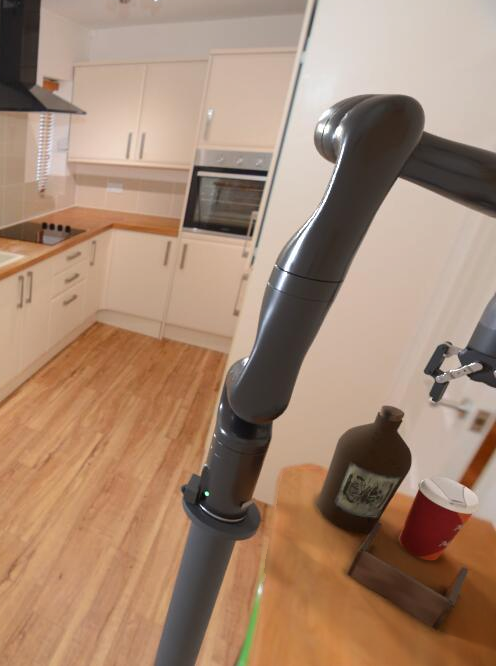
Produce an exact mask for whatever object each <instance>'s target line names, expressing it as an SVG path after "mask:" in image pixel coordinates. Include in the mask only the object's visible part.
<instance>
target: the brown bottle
mask: <svg viewBox="0 0 496 666" xmlns="http://www.w3.org/2000/svg"><path fill="white" fill-rule="evenodd" d="M404 417H405V412H404V411H403V410H401V408H398V407H396V406H392V405H382V406H381V407H380V409H379V411H378V412H377V414H376V417H375V419H374V422H371V423H366V424H361V425H357V426H353V427H351V428H349V429H347V430H346V431H345V432H344V433H342V434H341V436H340V437H339V438H338V440H337V443H336V446H335V448H334V451H333V455H332V458H331V462H330V464H329V467H328V470H327V472H326V476H325V479H324V481H323V485H322V487H321V490H320V493H319V495H318V498H317V502H316V503H317V507H318V510H319V511H320V512H321V514H322V515H323V516H324V517H325V518H326V519H327V520H329V521H330V522H332V523H333V524H334V525H336V526H338V527H340V528H342V529H345V530H347V531H350V532H354V533H370V532H371V531H372V529H373V528H374V526H375V525H376V523H377V522H380V520H381V518H382V516H383V514H384V512H385V511H386V509H387V507H388V505H389V504H390V503H391V501H392V499H393V497H394V496H395V494H396V493H397V491H398V489H399V488H400V486H401V485H402V483H403V482H404V480H405V478H406V477H407V475H408V474H409V472H410V470H411V469H412V468H411V467H412V463H413V457H412V456H413V455H412V452H411V449H410V447H409V446H408V444H407V443H406V441H405V440H404V438H403V437H402V436H401V434H400V433H399V429H400V427H401V425H402V423H403V419H404Z"/></svg>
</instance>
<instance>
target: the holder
mask: <svg viewBox="0 0 496 666" xmlns="http://www.w3.org/2000/svg"><path fill="white" fill-rule="evenodd" d="M382 525H383V523H381V522H380V521H378V522H377V523H376V525H375V526H374V528H373V529H372V531H370V532H369V534H368V535H367V537H366V538H365V540H364V541H363V542H362V544H361V546H360V547H359V549H358V551H357V552H356V554H355V556H354V558H353V560H352V562H351V564H350V566H349V568H348V570H347V572H346V575H348V576H350V577H351V578H352V579H354V580H355V581H358V582H359V583H361V584H363V585H364V586H366V587H367V588H369V589H371V590H372V591H374V592H375V593H377V594H379V595H380V596H382V597H383V598H385V599H386V600H388V601H390V602H392V604H395V605H396V606H398V607H399V608H401V609H402V610H404V611H406V612H407V613H410V614H411V615H412V616H414V617H415V618H417V619H419V620H420V621H422V622H423V623H425V624H427V625H428V626H430V627H432V628H433V629H434V630H436V631H438V630H439V629H440V627H441V626H442V625H443V623H444V621H445V620H446V619H447V617H448V615H450V613H451V611H452V610H453V608H454V607H455V605H456V602H457V600H458V598H459V595H460V592H461V590H462V588H463V585H464V582H465V579H466V578H467V574H468V573H469V569H468V568H466V567H464V566H462V567H461V568H460V570H459V571H458V573H457V574H456V576H455V577H454V578H453V580H452V582H450V585H449V586H448V587H447V589H446V592H445V593H444V595H442V594H440V593H439V592H437V591H436V590H434V589H432V588H430V587H428V586H427V585H425V584H423V583H421V582H420V581H418V580H416V579H415V578H413V577H411V576H410V575H408V574H406V573H404V572H402V571H401V570H400V569H398V568H396V567H394V566H392V565H391V564H388V563H387V562H386V561H383V560H382V559H380V558H378V557H377V556H375V555H373V554H371V553H370V552H369V550H370V549H371V546H373V543H374V541H375V539H376V537H377V535H378V533H379V532H380V529H381V527H382Z"/></svg>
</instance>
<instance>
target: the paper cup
mask: <svg viewBox="0 0 496 666" xmlns="http://www.w3.org/2000/svg"><path fill="white" fill-rule="evenodd" d="M417 486H418V490H417V492H416V494H415V497H414V499H413V502H412V504H411V506H410V508H409V511H408V513H407V516H406V518H405V520H404V523H403V525H402V528H401V530H400V533H399V536H398V542H399V544H400V546H401V547H402V548H403V549H404V550H405V551H407V552H408V553H410V554H411V555H413V556H414V557H416V558H419V559H422V560H424V561H425V560H426V561H435V560H437V559H439V557H440V556H441V555H442V554H443V553H444V552H445V550H446V549H448V546H449V545H450V544H451V542H453V540H454V539H455V538H456V536H457V535H458V533H459V532H460V531H461V530H462V529H463V527H464V526H465V524H466V523H467V521H468V520H470V518H471V517H472V515H473V514H476V513H478V512H479V511H480V504H479V502H480V501H479V498H478V496H477V495H476V493H474V491H473V490H471V489H470V488H468V487H467V486H465V485H463V484H462V483H459V482H457V481H456V480H453V479H450V478H446V477H442V476H437V475H435V476H434V475H432V476H426V477H425V478H424V479H422V480H420V481H419V482H418V484H417Z"/></svg>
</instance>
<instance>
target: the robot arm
mask: <svg viewBox="0 0 496 666" xmlns="http://www.w3.org/2000/svg"><path fill="white" fill-rule="evenodd" d="M425 125H426V114H425V110H424V108H423V106H422V104H421V103H420V101H419V100H417V98H415V97H414V96H410V95H407V94H401V93H364V94H358V95H357V94H356V95H352V96H349V97H346V98H344V99H342V100H339V101H337V102H336V103H334V104H333V105H331V106H330V107H329V108H327V110H325V111H324V113H322V115H321V116H320V118H319V119H318V121H317V123H316V125H315V128H314V131H313V144H314V147H315V149H316V151H317V152H318V154H319V156H321V157H322V158H323V159H324V160H326V161H327V162H329V163H331V164H333V165H334V167H333V171H332V173H331V175H330V178H329V181H328V183H327V187H326V189H325V190H324V194H323V195H322V198H321V200H320V202H319V203H318V205H317V207H316V208H315V210H314V211H313V213H312V214H311V215H310V217H308V219H307V220H306V221H305V222H304V223H303V224H302V225H301V226H300V227H299V228H298V229H297V231H295V232H294V234H293V235H292V236H291V237H290V238H289V239H288V241H286V243H285V244H284V245H283V247H282V248H281V250H280V252H279V253H278V256H277V258H276V260H275V263H274V264H273V267H272V270H271V271H270V272H271V273H270V275H269V277H268V280H267V282H266V286H265V289H264V292H263V296H262V300H261V305H260V309H259V310H260V311H259V315H258V322H257V328H256V335H255V339H254V343H253V346H252V349H251V351H250V354H249V355H248V356H245V357H242V358H239V359H238V360H236V361H235V362H234V363H233V364H232V365H231V366H230V367H229V369H227V373H226V375H225V378H224V380H223V381H224V382H223V386H222V389H221V393H220V394H221V395H220V398H219V402H218V407H217V410H216V411H217V412H216V419H215V425H214V429H213V433H212V438H211V441H210V445H209V448H208V452H207V456H206V460H205V462H204V464H203V466H202V469H201V473H200V475H199V474H196V473H194V472H192V474H191V476H190V478H189V480H188V482H187V483H184V484H182V485H181V486H180V492H181V493H182V497H183V500H185V501H187V502H189V503H192V504H195V505H197V506H199V507H200V509H201V510H202V511H203V512H204V513H205V514H207V515H208V516H210V517H211V518H213V519H215V520H217V521H220V522H223V523H228V524H236V523H240V522H242V521H243V520H245V518H246V516H247V513H248V509H249V505H250V504H252V503H255V501H256V500H255V499H256V497H254V493H255V490H256V487H257V484H258V482H259V478H260V475H261V472H262V469H263V466H264V464H265V460H266V457H267V454H268V451H269V449H270V445H271V443H272V439H273V429H274V428H273V427H274V421H276V420H277V419H279V418H280V417H281V416H282V415H283V414H284V413H285V412H286V411H287V409H288V407H289V405H290V402H291V399H292V396H293V393H294V390H295V386H296V383H297V380H298V378H299V374H300V371H301V368H302V366H303V363H304V360H305V358H306V356H307V354H308V353H309V351H310V348H311V347H312V345H313V344H314V341H315V340H316V337H317V336H318V334H319V332H320V330H321V328H322V326H323V324H324V322H325V319H326V318H327V316H328V313H329V312H330V311H331V308H332V306H333V305H334V303H335V301H336V299H337V297H338V295H339V293H340V290H341V289H342V286H343V284H344V282H345V280H346V278H347V276H348V273H349V271H350V268H351V266H352V264H353V261H354V259H355V258H356V255H357V253H358V252H359V250H360V248H361V246H362V244H363V242H364V240H365V237H366V236H367V234H368V232H369V230H370V227H371V225H372V224H373V221H374V220H375V218H376V215H377V213H378V211H379V210H380V208H381V206H382V205H383V203H384V201H385V200H386V198H387V196H388V195H389V194H390V192H391V190H392V188H393V187H394V185H395V183H396V182H397V180H398V179H402V180H404V181H407V182H409V183H412V184H414V185H416V186H419V188H420V187H421V188H423V189H425V190H427V191H430V192H432V193H434V194H436V195H439V196H441V197H443V198H445V199H447V200H449V201H452V202H454V203H456V204H457V205H460V206H463V207H465V208H468V209H469V210H473V211H474V212H477V213H480V214H482V215H485V216H487V217H489V218H492V219H496V152H495V151H491V150H488V149H485V148H482V147H478V146H474V145H470V144H467V143H463V142H460V141H456V140H452V139H450V138H449V139H448V138H445V137H443V136H439V135H437V134H433V133H430V132H428V131H426V130H424V129H425ZM453 356H457V360H458V361H459V363H460V365H459V366H458V367H455V368H453V369H450V370H447V371H444V370H441V369H440V368H441V367H442V365H443V364H444V361H445V360H446V359H449V358H451V357H453ZM423 373H424V374H425V375H426V376H430V377H431V378H433V380H434V383H433V384H432V387H431V389H430V390H429V393H428V394H429V395H428V396H429V398H431V402H434V403H438V402H441V400H442V399H443V397H444V395H445V393H446V391H447V389H448V387H449V385H450V382H451V380H456V379H457V378H458V379H459V378H461V377H464V376H466V377H467V378H469V380H470V381H473V382H477V383H482V384H484V385H486V386H488V387H490V388H493V389H496V291H494V294H493V296H492V297H491V298H490V300H488V302H487V303H486V306H485V308H484V309H483V311H482V314H481V316H480V317H479V320H478V322H477V323H476V326H475V327H474V330H473V332H472V334H471V336H470V338H469V340H468V343H467V345H466V346H465V347H464V348H461V347H458V346H455V345H453V342H451V341H444V342H442V343H440V344H438V345H437V346H436V348H435V350H434V351H433V353H432V355H431V356H430V358H429V360H428V362H427V364H426V365H425V368H424V369H423ZM183 494H184V496H183ZM253 497H254V498H253Z"/></svg>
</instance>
